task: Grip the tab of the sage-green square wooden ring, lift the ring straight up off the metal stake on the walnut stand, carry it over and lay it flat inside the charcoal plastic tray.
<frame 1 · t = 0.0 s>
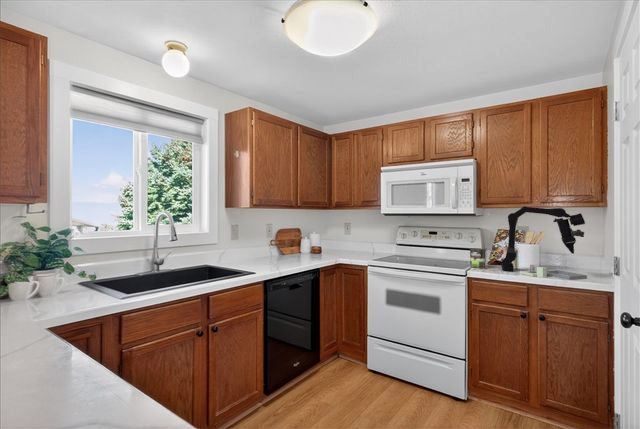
hand: (572, 252, 200), 15 cm above the counter, tool pointing down, fingers open, 9 cm apart
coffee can: (477, 268, 235), on the counter
tray: (563, 278, 200), on the counter
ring: (532, 274, 206), point 1 cm above the counter, touching stake stand
stake stand: (532, 276, 206), on the counter
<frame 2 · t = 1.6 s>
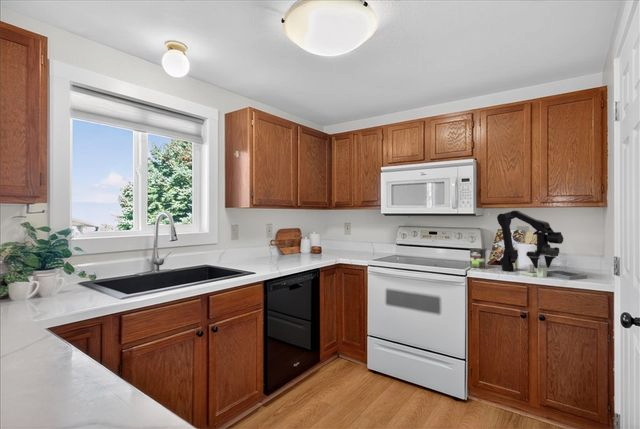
hand: (542, 268, 200), 6 cm above the counter, tool pointing down, fingers open, 9 cm apart
nothing on the counter moved.
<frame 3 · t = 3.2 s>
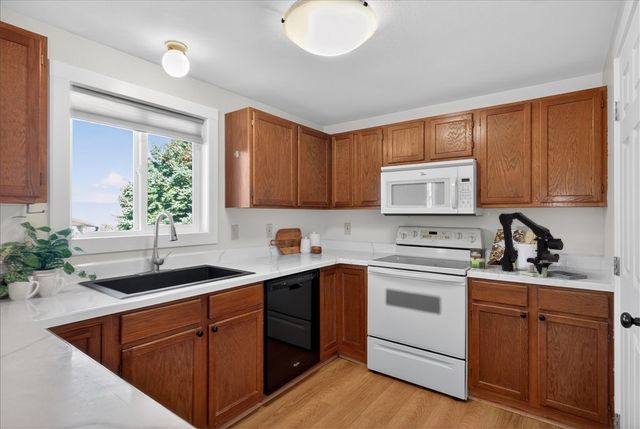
hand: (542, 274, 199), 3 cm above the counter, tool pointing down, fingers closed on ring, 3 cm apart
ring: (532, 274, 206), point 1 cm above the counter, touching gripper, stake stand
everything else where it was.
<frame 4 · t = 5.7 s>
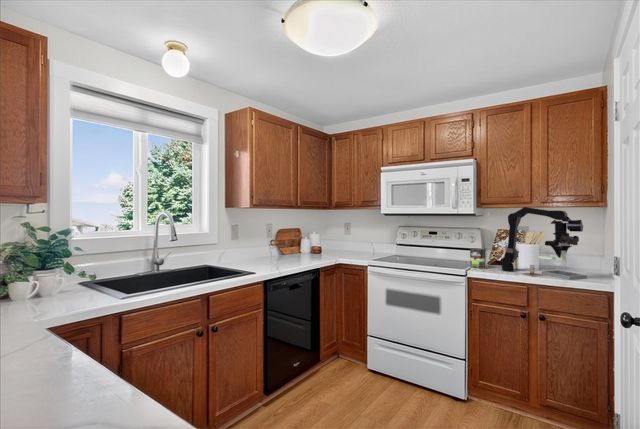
hand: (561, 257, 196), 13 cm above the counter, tool pointing down, fingers closed on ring, 3 cm apart
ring: (550, 258, 203), point 12 cm above the counter, touching gripper
everything else where it was.
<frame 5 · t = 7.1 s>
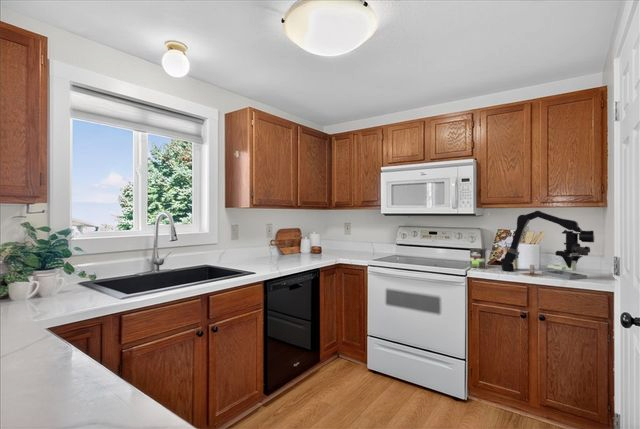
hand: (571, 267, 195), 7 cm above the counter, tool pointing down, fingers closed on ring, 3 cm apart
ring: (560, 268, 202), point 6 cm above the counter, touching gripper
everything else where it was.
when the fingers open (4 cm above the counter, at t = 8.4 s): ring drops 2 cm, resting on tray.
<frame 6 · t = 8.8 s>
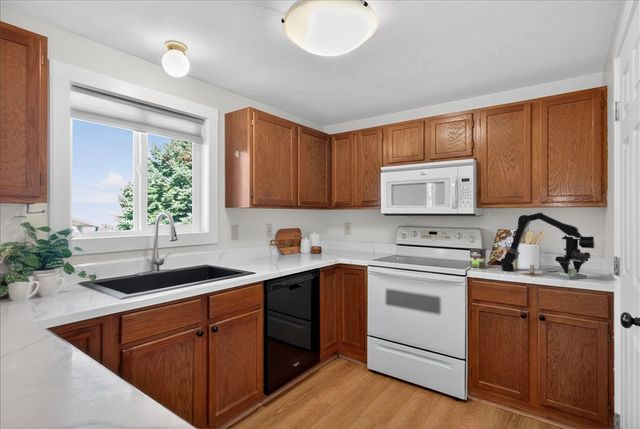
hand: (571, 273, 195), 4 cm above the counter, tool pointing down, fingers open, 8 cm apart
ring: (560, 276, 202), point 1 cm above the counter, touching tray
everything else where it was.
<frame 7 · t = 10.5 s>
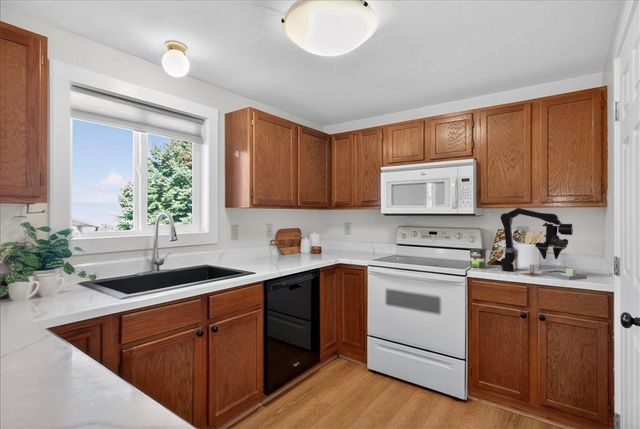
hand: (550, 259, 203), 11 cm above the counter, tool pointing down, fingers open, 9 cm apart
nothing on the counter moved.
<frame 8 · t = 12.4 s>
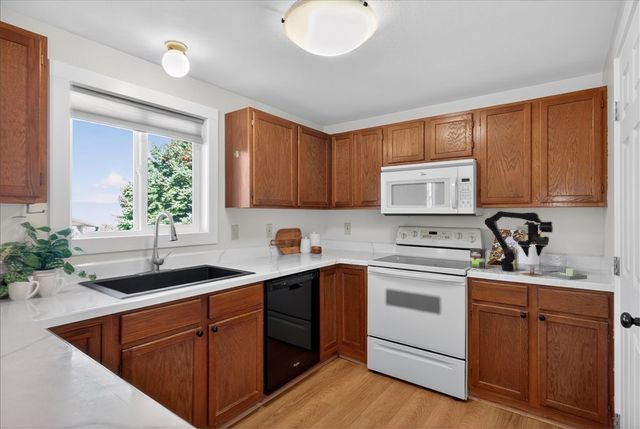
hand: (532, 256, 210), 12 cm above the counter, tool pointing down, fingers open, 9 cm apart
nothing on the counter moved.
at the end: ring inside the target area on the tray (0.1 cm from its centre), point 0.8 cm above the tray's base; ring tilted 0°; the gripper is holding nothing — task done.
